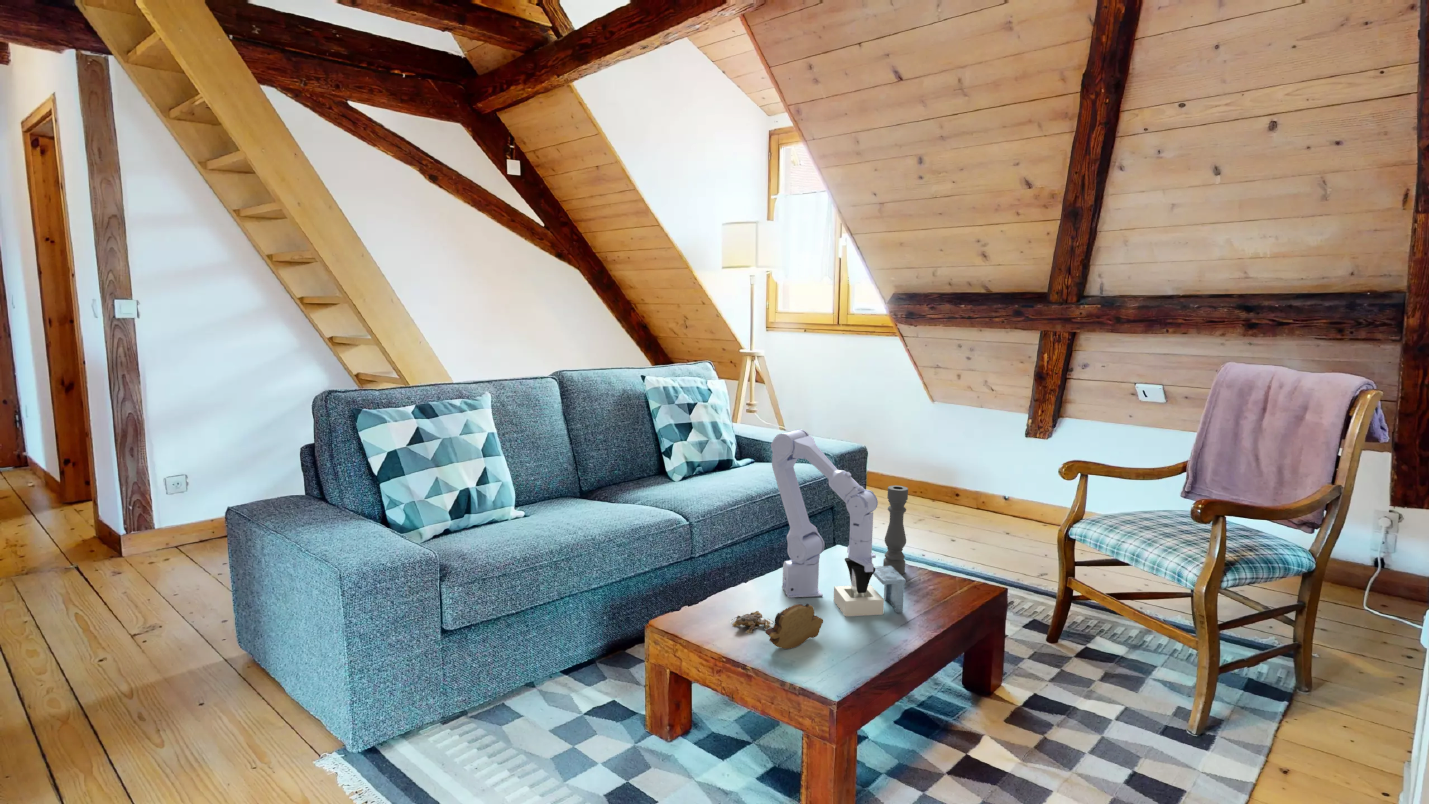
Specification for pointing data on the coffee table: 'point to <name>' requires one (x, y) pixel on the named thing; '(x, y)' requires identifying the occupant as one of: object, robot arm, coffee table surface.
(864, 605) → the socket block
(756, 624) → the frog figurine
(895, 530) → the candle holder
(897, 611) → the grey arch block
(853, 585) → the peg
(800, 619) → the wooden carving
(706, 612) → the coffee table surface
